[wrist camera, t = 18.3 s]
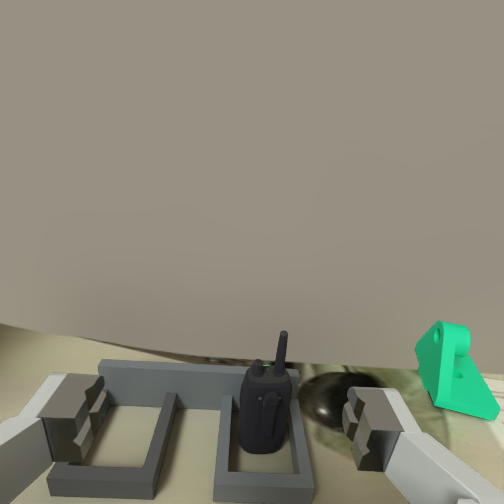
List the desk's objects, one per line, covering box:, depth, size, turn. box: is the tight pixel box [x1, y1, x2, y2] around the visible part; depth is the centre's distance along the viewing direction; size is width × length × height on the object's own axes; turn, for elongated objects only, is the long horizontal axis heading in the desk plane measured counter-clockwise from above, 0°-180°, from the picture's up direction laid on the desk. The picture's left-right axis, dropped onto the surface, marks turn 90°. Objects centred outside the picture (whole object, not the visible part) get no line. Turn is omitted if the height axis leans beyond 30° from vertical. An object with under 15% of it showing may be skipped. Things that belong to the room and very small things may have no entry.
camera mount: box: [415, 321, 500, 420], centre depth 44 cm, size 12×8×10 cm, turn 164°
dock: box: [98, 359, 315, 504], centre depth 33 cm, size 24×11×7 cm, turn 91°
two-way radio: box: [238, 331, 292, 454], centre depth 32 cm, size 6×4×15 cm
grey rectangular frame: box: [46, 389, 177, 500], centre depth 33 cm, size 9×10×2 cm
